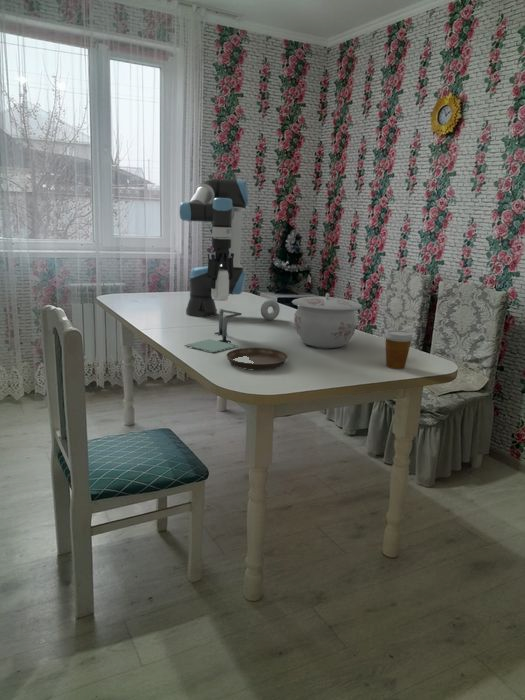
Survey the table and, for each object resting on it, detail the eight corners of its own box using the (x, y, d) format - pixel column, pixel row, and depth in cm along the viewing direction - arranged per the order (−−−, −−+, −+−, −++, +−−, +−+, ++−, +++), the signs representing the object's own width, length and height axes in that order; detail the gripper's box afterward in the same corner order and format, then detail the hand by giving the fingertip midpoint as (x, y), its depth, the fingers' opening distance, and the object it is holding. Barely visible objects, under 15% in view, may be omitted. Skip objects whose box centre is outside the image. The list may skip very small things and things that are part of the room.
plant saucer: (239, 375, 168) (239, 364, 168) (217, 358, 187) (218, 349, 186) (297, 370, 177) (298, 360, 176) (271, 354, 195) (272, 346, 194)
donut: (277, 319, 262) (278, 298, 260) (280, 320, 259) (281, 299, 257) (258, 319, 258) (259, 299, 255) (262, 321, 255) (263, 300, 252)
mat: (184, 346, 200) (184, 344, 199) (209, 340, 211) (209, 339, 211) (213, 353, 192) (213, 351, 192) (237, 346, 203) (237, 345, 203)
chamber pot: (313, 355, 195) (317, 299, 190) (276, 339, 219) (279, 288, 214) (374, 350, 208) (379, 297, 203) (333, 335, 232) (337, 287, 227)
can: (223, 301, 215) (224, 271, 212) (209, 299, 217) (209, 269, 214) (230, 299, 221) (231, 269, 218) (216, 297, 223) (217, 268, 220)
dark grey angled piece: (198, 338, 214) (198, 312, 212) (220, 333, 225) (220, 308, 223) (225, 343, 207) (225, 317, 204) (246, 338, 218) (247, 313, 215)
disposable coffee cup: (377, 362, 190) (381, 329, 187) (404, 363, 191) (407, 330, 188) (386, 370, 181) (389, 335, 178) (413, 370, 182) (417, 336, 179)
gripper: (212, 238, 203) (211, 299, 209) (244, 238, 219) (241, 294, 224) (198, 237, 208) (197, 296, 213) (229, 237, 223) (228, 292, 229)
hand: (220, 295), depth 219 cm, fingers closed on can, 6 cm apart
